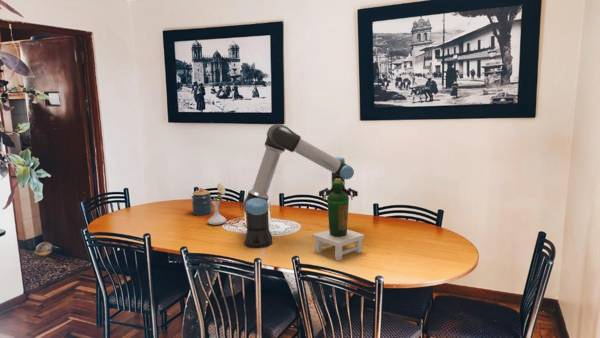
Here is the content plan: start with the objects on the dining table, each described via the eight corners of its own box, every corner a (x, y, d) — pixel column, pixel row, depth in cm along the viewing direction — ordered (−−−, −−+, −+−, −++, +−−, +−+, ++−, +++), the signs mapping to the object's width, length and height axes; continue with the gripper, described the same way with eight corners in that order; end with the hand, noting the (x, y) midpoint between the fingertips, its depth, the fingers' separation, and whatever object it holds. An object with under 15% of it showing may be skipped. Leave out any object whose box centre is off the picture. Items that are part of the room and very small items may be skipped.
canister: (191, 212, 291) (189, 187, 288) (209, 209, 296) (208, 185, 293) (194, 216, 279) (193, 190, 276) (214, 214, 285) (212, 188, 282)
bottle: (350, 237, 205) (349, 181, 200) (328, 238, 205) (327, 181, 201) (348, 230, 216) (347, 176, 211) (327, 231, 216) (326, 177, 211)
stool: (338, 261, 199) (338, 243, 198) (313, 251, 213) (312, 234, 211) (364, 251, 211) (364, 234, 209) (338, 242, 224) (338, 226, 223)
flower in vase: (216, 227, 256) (214, 186, 252) (203, 224, 263) (201, 184, 258) (232, 222, 266) (230, 183, 262) (219, 219, 273) (217, 181, 269)
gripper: (360, 194, 235) (363, 204, 214) (315, 194, 237) (313, 204, 216) (360, 181, 234) (363, 190, 213) (315, 181, 236) (313, 190, 215)
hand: (338, 197), depth 214 cm, fingers open, 13 cm apart
